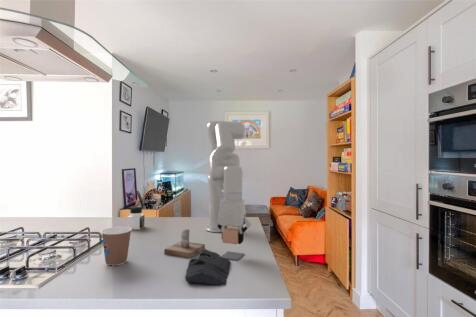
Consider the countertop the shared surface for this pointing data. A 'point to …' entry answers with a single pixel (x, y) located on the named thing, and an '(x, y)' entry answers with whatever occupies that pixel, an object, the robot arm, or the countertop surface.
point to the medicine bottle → (135, 218)
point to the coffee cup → (116, 244)
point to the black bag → (208, 269)
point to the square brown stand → (184, 247)
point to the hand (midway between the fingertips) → (232, 241)
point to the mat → (232, 255)
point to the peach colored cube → (230, 235)
